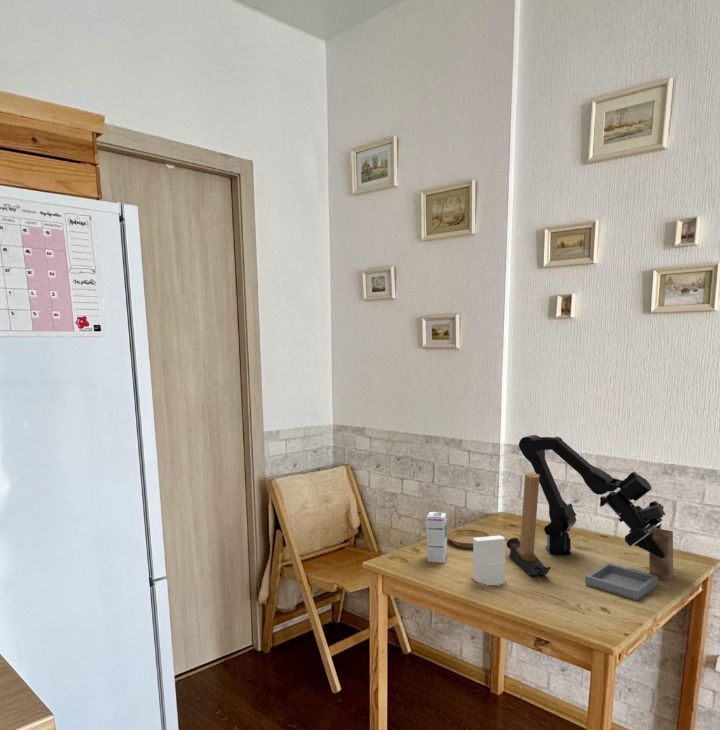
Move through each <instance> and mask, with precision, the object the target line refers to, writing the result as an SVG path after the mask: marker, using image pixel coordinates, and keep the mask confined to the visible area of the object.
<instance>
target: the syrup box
mask: <svg viewBox="0 0 720 730" xmlns="http://www.w3.org/2000/svg"><path fill="white" fill-rule="evenodd" d="M425 519H426V520H425V521H426V550H427V551H426V552H427V553H426V555H427V557H426V558H427V562H430V563H438V564H445V563H446V562H447V558H448V537H447V535H448V531H447V525H448V524H447V513H446V512H441V511H429V512H428V514H427V515H426V518H425Z"/></svg>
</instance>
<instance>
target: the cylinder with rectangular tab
mask: <svg viewBox="0 0 720 730" xmlns="http://www.w3.org/2000/svg"><path fill="white" fill-rule="evenodd" d="M472 550H473V580H474V581H475V582H476V581H477V582H479V583H478V584H480V583H482V584H481V585H483V584H486V585H485V586H488V585H497V586H501V585H504V584H505V583H506V539H505V537H504V536H502V535H490V536H488V537H476V538H473V548H472ZM477 582H476V583H477ZM503 583H504V584H503ZM500 584H501V585H500Z"/></svg>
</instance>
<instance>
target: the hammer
mask: <svg viewBox="0 0 720 730" xmlns="http://www.w3.org/2000/svg"><path fill="white" fill-rule="evenodd" d="M539 476H540V475H539V474H536V473H535V472H525V474H524V484H523V485H524V486H523V499H522V501H523V502H522V514H521V526H520V527H521V529H520V539H518V538H516V537H512V538H509V540H507V542H506V547H507V548H508V549H509V556H510V558H511V559H512V561H513V562H514V563H515V564H516V565H517V566H518V567H519V566H520V567H521V568H522V569H523V570H524V571H523V570H522V569H521V568H520V567H519V568H520V569H521V570H522V571H523V572H525V574H526V575H528V574H529V575H528V576H540V575H543V576H544V575H547V574H548V573H549V571H550V569H551V568H552V567H551V566H547V567H546V566H545V564H543V563H542V562H541V560H540V559H539V557H537V556H536V554H535V552H534V551H535V541H536V539H535V538H536V527H537V526H536V525H537V514H538V513H537V512H538V502H539V501H538V500H539V499H538V498H539V486H540V483H539Z"/></svg>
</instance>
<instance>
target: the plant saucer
mask: <svg viewBox="0 0 720 730" xmlns="http://www.w3.org/2000/svg"><path fill="white" fill-rule="evenodd" d="M488 536H491V535H490V534H489V533H487V532H485V531H482V530H477V529H473V528H472V529H471V528H469V529H467V528H465V529H454V530H452V531H449V532H447V539H448V540H449V541H450V542H451V543H452V544H454V545H455V546H457V547H460V548H463V549H464V548H465V549H473V538H476V537H488Z"/></svg>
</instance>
